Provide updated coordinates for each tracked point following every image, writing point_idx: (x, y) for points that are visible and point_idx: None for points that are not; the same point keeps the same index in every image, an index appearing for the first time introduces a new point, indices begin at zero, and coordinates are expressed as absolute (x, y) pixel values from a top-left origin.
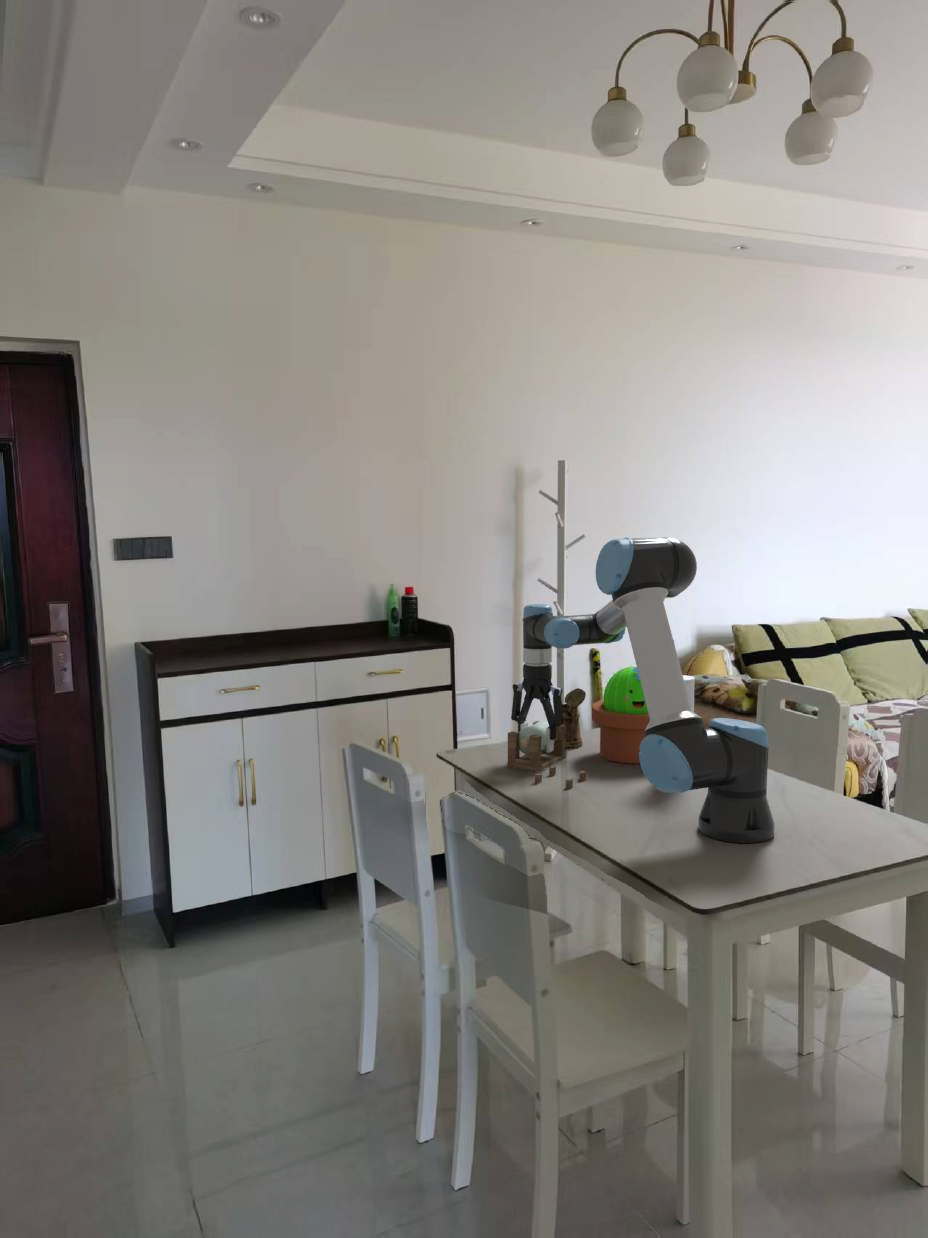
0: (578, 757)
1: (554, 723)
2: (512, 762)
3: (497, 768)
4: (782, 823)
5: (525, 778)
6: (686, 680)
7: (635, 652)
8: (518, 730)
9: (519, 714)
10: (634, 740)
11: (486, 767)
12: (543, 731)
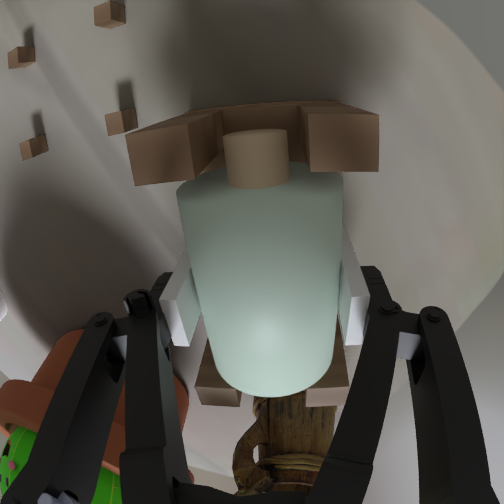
0: (196, 331)
1: (126, 331)
2: (313, 103)
3: (357, 63)
4: None
5: (179, 16)
6: None
7: None
8: (379, 279)
9: (396, 345)
10: (40, 371)
11: (400, 56)
12: (200, 284)
